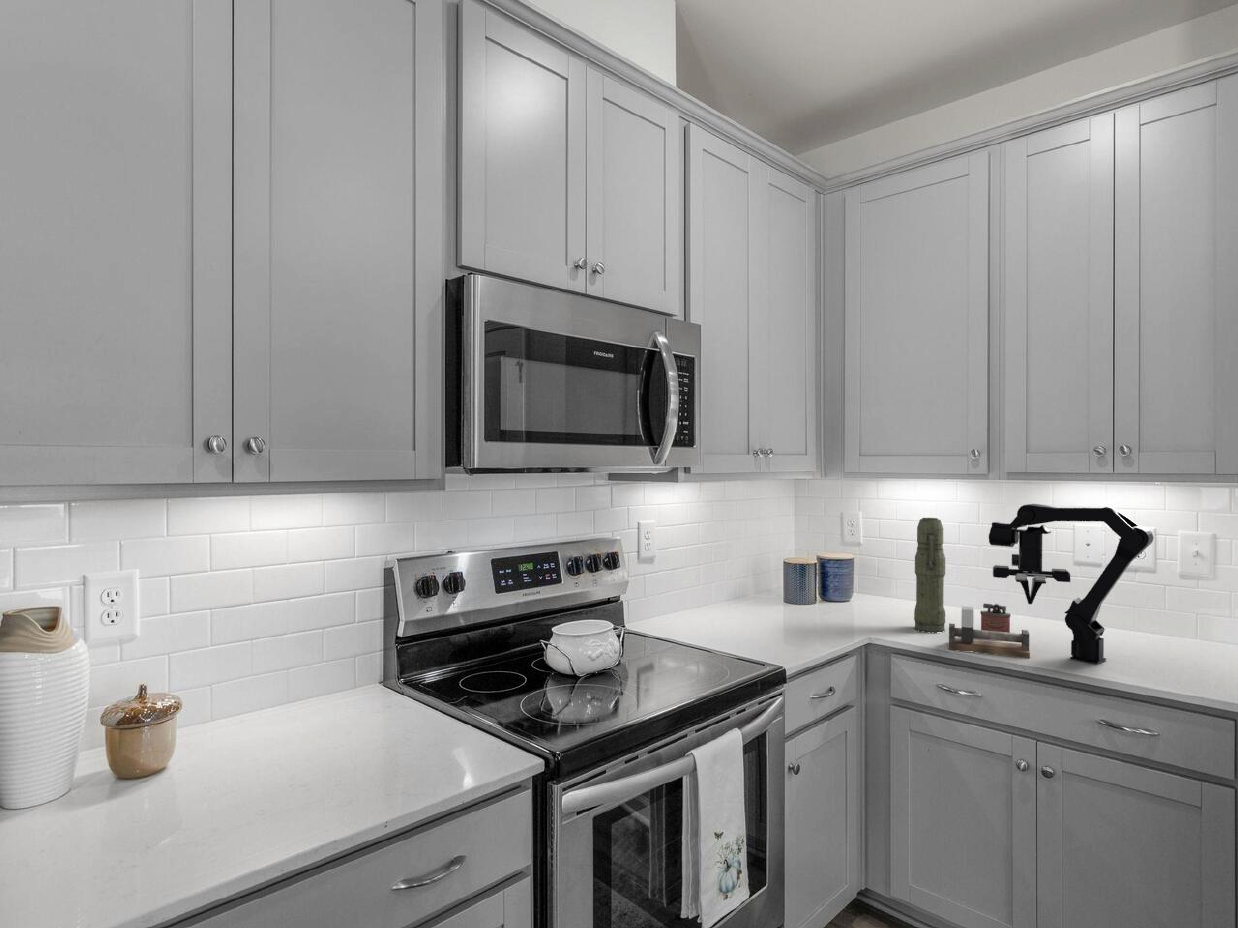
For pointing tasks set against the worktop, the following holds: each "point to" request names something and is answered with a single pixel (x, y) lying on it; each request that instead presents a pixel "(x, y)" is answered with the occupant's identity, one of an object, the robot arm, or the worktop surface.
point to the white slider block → (967, 624)
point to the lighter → (995, 618)
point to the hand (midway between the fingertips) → (1030, 604)
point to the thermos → (929, 576)
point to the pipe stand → (991, 642)
